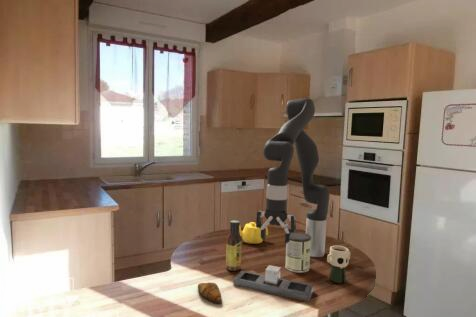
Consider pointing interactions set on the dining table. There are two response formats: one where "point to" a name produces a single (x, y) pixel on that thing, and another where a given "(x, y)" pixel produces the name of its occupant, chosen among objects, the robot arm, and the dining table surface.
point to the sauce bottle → (233, 247)
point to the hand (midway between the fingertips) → (275, 241)
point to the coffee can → (298, 252)
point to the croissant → (210, 292)
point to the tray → (285, 288)
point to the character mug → (338, 263)
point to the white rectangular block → (272, 275)
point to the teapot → (251, 233)
